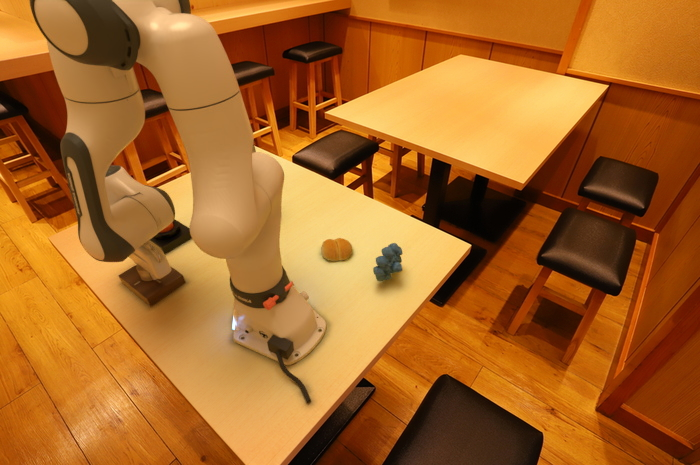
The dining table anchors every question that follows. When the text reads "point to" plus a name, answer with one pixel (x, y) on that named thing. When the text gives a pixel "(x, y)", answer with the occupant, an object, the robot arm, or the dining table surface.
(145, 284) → the dial panel
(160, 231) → the round orange button
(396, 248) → the grapes
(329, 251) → the bread roll
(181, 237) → the button base
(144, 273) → the dial knob
